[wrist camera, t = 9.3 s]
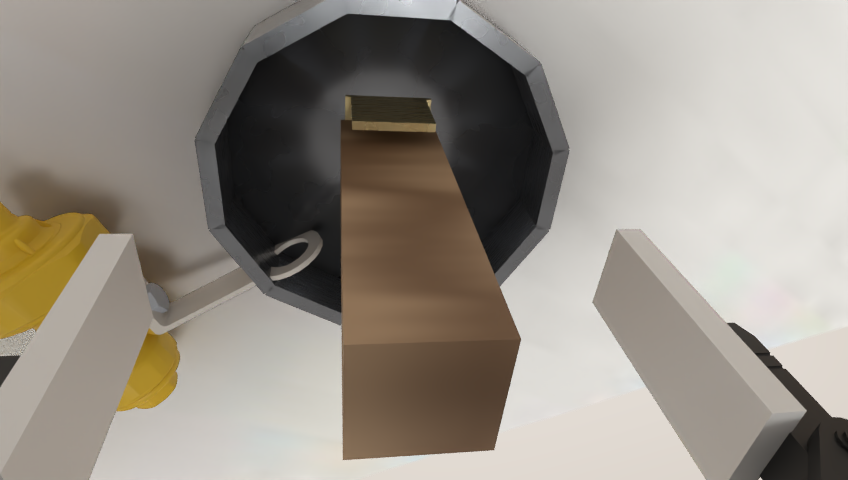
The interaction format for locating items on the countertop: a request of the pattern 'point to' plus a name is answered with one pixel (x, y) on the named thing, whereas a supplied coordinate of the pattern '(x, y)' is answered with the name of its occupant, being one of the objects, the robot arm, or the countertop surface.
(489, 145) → the tin
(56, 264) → the pressure relief valve
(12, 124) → the countertop surface
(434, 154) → the wooden beam block
